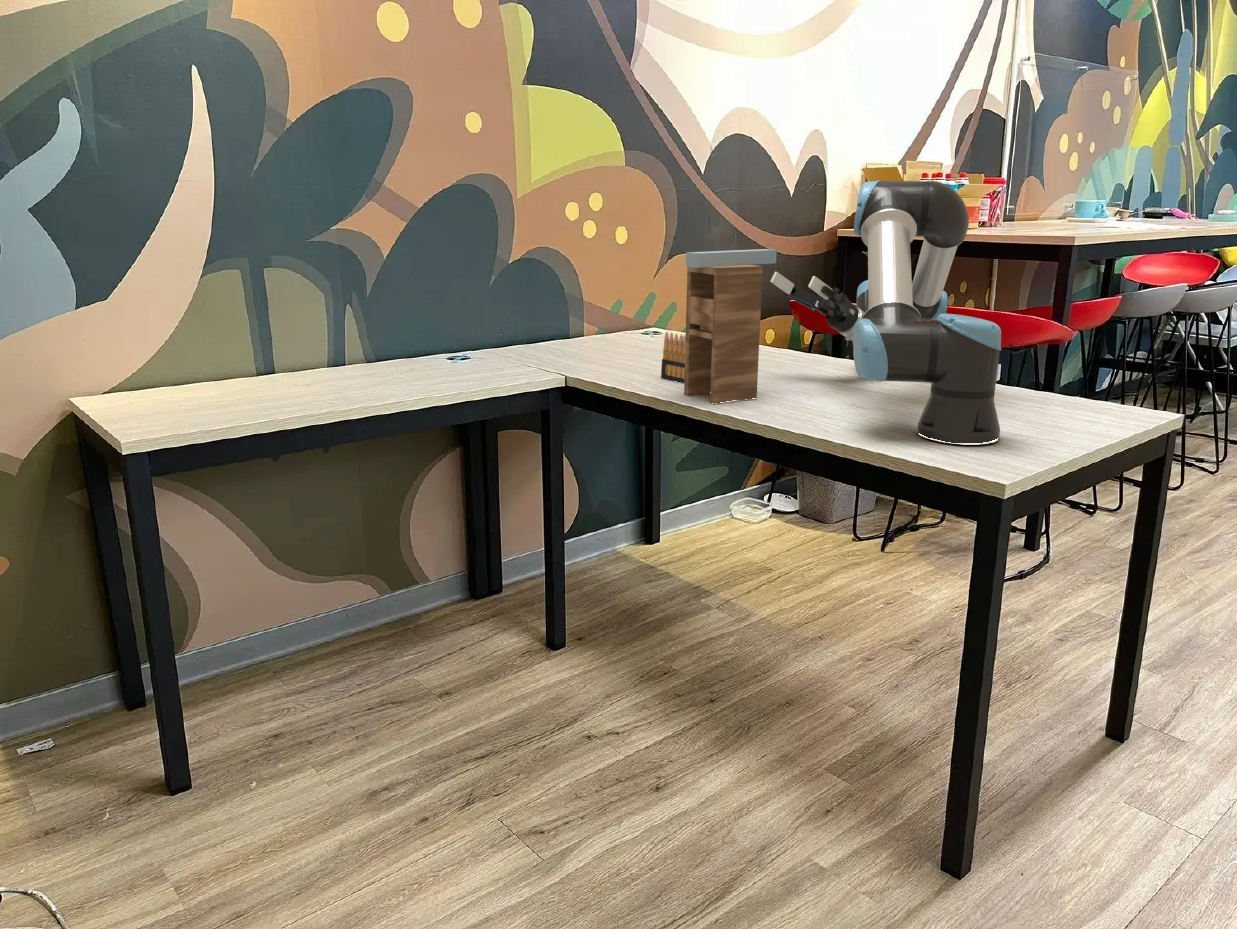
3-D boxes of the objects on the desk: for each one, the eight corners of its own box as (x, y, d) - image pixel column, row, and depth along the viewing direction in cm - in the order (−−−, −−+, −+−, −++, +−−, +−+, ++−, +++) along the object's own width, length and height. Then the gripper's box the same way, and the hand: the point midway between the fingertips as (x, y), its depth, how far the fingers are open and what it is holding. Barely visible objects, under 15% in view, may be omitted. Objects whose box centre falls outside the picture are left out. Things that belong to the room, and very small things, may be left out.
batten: (776, 263, 215) (776, 249, 214) (697, 267, 202) (698, 253, 201) (763, 262, 218) (764, 249, 218) (685, 266, 205) (686, 252, 204)
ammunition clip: (695, 384, 231) (696, 335, 228) (689, 384, 230) (690, 336, 227) (666, 377, 239) (667, 330, 236) (660, 378, 238) (661, 331, 235)
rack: (756, 398, 215) (763, 255, 205) (714, 404, 209) (719, 256, 200) (725, 389, 225) (730, 252, 215) (684, 394, 219) (687, 253, 210)
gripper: (877, 339, 220) (821, 298, 208) (807, 326, 241) (752, 288, 229) (891, 311, 220) (835, 268, 208) (819, 300, 241) (765, 261, 229)
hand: (792, 278), depth 219 cm, fingers open, 13 cm apart
